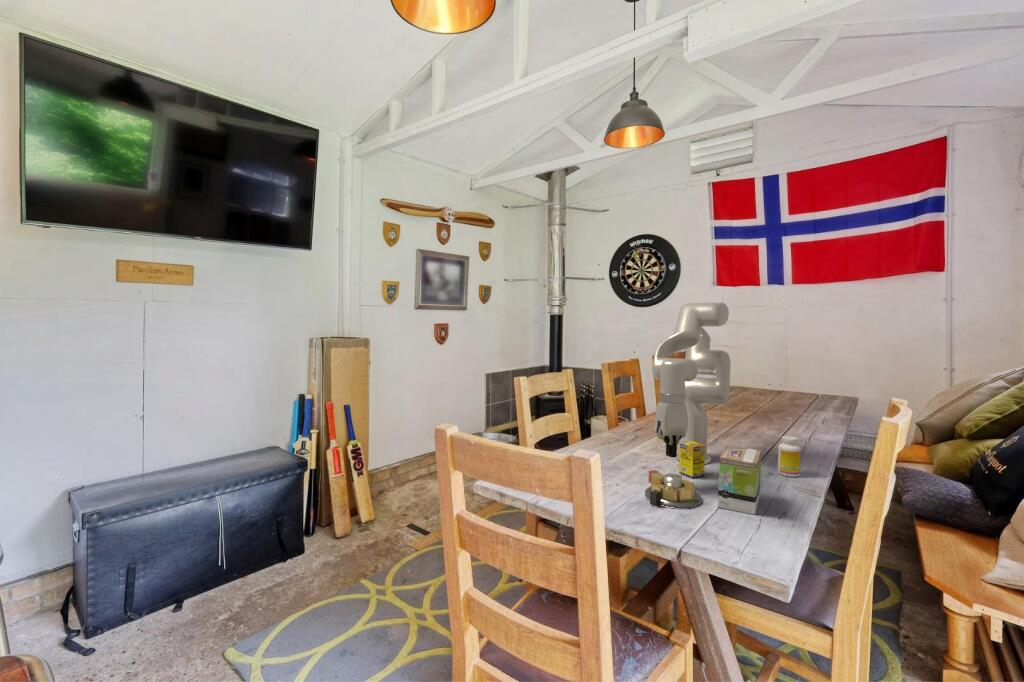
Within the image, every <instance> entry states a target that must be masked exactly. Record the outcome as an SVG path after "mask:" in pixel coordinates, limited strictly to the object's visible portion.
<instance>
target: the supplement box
mask: <svg viewBox="0 0 1024 682" xmlns="http://www.w3.org/2000/svg"><path fill="white" fill-rule="evenodd" d="M679 444H680V461H679V465H678V466H679V467H678V468H679V471H678V474H679V473H681V474H680V475H682V474H683V475H682V476H684V475H686V476H685V477H687V476H688V477H687V478H689V477H691V478H690V479H692V478H693V479H695V477H697V478H700V476H701V477H704V476H705V465H706V464H705V445H703V444H700V443H697V442H693V441H690V442H685V443H680V442H679Z"/></svg>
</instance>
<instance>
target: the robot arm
mask: <svg viewBox="0 0 1024 682" xmlns="http://www.w3.org/2000/svg"><path fill="white" fill-rule="evenodd" d="M728 319H729V308H728V305H727V303H724V302H692V303H691V302H690V303H685V304H683V305H682V306H681V307H680V308H679V313H678V316H677V321H676V325H675V327H674V332H673V334H672V335H670V336H669V337H667V338H666V339H665V340H663V342H661V343H660V344H659V345H658V346H657V348H656V350H655V353H654V356H653V361H652V364H651V373H652V376H653V377H654V379H656V380H658V381H659V380H660V381H659V382H660V383H659V384H660V386H659V402H657V404H656V408H655V409H656V410H655V414H654V424H653V426H654V428H653V431H654V432H655V433H656V438H657V439H659V440H662V441H663V442H664V444H665V456H666V457H669V458H673V459H674V458H677V459H676V460H678V461H679V460H680V443H685V442H690V441H693V442H697V443H700V444H703V445H705V465H706V464H710V463H711V462H712V457H711V456H710V455H708V420H709V419H708V413H707V410H706V409H705V407H704V406H703V405H702V404H708V405H709V404H710V405H724V404H726V403H727V402H728V400H729V396H730V383H731V382H730V381H731V357H730V355H729V353H728V352H727V351H725V350H721V349H718V350H717V349H711V340H712V339H711V336H710V334H709V333H708V332H707V331H706V329H704V327H721V326H724V325H725V324H727V321H728ZM684 350H685V358H676V357H675V358H674V357H669V356H671V355H672V354H675V353H677V352H681V351H684ZM698 375H704V376H705V375H706V376H713V377H702V376H700V377H699V376H698ZM715 377H716V378H715Z"/></svg>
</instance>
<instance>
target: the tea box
mask: <svg viewBox="0 0 1024 682" xmlns="http://www.w3.org/2000/svg"><path fill="white" fill-rule="evenodd" d="M718 469H719V470H718V471H719V472H718V489H717V491H718V492H717V507H718V508H722V509H725V510H726V509H727V510H730V511H735V512H739V513H746V514H751V515H755V514H756V512H757V509H758V504H759V501H760V494H761V472H762V471H761V470H762V450H759V449H758V450H757V449H753V448H745V447H740V446H739V447H737V446H732V445H726V446H725V448H724V449H723V451H722V453H721V455H720V456H719V468H718Z"/></svg>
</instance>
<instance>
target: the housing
mask: <svg viewBox="0 0 1024 682" xmlns="http://www.w3.org/2000/svg"><path fill="white" fill-rule="evenodd" d="M677 474H678V473H677ZM677 474H676V473H666V474H663V475H664V486H666V487H667V485H668V483H670V484H674V488H682V480H683V476H682V475H681V474H678V475H677ZM644 496H646V497H647V498H648V499H649V500H650V501H649V500H648V499H647V498H646V497H645V498H646V499H647V500H648V501H649V505H650V504H651V505H654V506H658V505H664V506H668V507H674V508H690V509H692V508H691V507H695V506H697V507H699V506H700V505H701V504H702V496H701V494H699V493H698V492H696V491H695V490H694V498H693V499H691V500H690V501H683V502H679V501H678V500H677V502H675V501H669V500H663V498H661V491H658V490H653V491H651V486H649V487H648V488H646V489H645V491H644ZM700 503H701V504H700ZM699 504H700V505H699ZM651 505H650V506H651ZM698 505H699V506H698ZM654 506H653V507H654ZM658 507H659V506H658ZM674 508H673V509H674ZM695 508H696V507H695Z"/></svg>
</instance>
